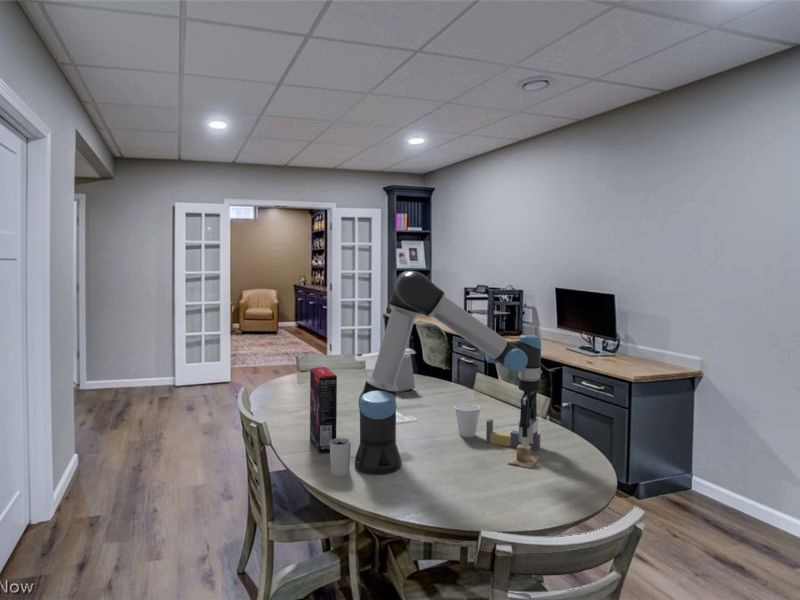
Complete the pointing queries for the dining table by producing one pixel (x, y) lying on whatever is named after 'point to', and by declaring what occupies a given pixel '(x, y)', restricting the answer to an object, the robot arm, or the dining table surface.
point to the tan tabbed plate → (523, 457)
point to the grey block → (531, 429)
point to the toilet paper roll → (340, 456)
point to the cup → (467, 419)
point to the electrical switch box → (405, 375)
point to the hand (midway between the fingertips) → (528, 441)
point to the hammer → (508, 437)
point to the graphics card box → (323, 408)
